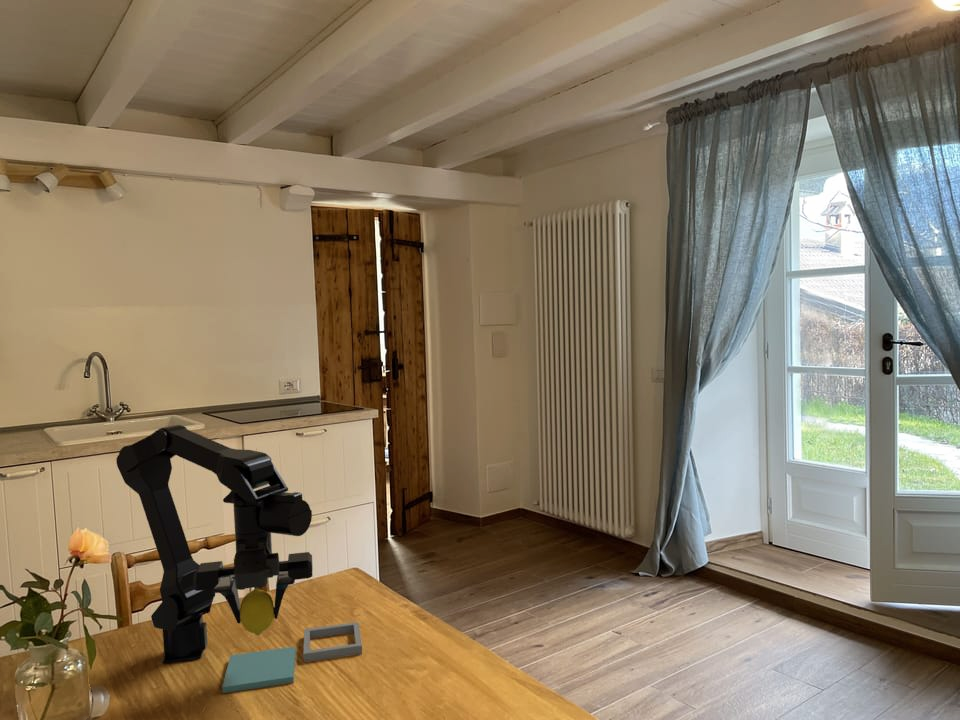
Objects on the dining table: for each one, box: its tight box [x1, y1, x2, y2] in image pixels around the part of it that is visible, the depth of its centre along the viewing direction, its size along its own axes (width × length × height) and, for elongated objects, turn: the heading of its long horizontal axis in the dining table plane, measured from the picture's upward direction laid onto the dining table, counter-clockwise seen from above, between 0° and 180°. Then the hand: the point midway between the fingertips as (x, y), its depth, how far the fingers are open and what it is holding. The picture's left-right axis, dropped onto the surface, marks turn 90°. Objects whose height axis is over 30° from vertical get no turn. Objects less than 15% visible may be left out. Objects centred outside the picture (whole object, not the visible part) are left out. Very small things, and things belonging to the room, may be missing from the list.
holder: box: [303, 621, 363, 663], centre depth 126 cm, size 10×10×2 cm
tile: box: [221, 645, 297, 694], centre depth 117 cm, size 11×11×1 cm
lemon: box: [240, 587, 275, 636], centre depth 116 cm, size 6×6×8 cm
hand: (257, 620), depth 117 cm, fingers closed on lemon, 5 cm apart
